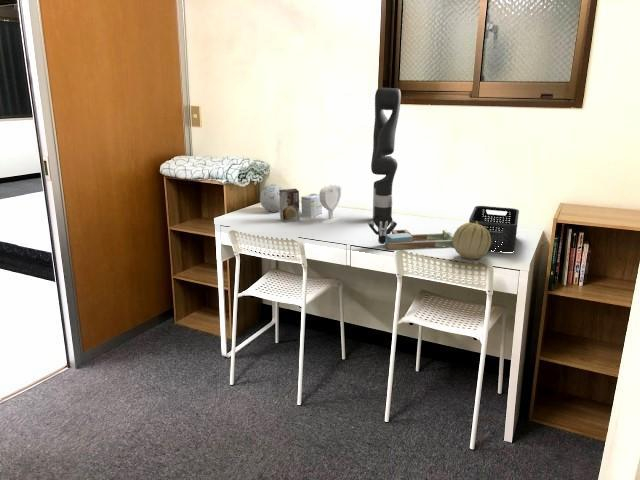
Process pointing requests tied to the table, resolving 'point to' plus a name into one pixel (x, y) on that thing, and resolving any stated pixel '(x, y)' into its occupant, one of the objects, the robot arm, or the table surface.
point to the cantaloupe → (471, 240)
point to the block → (398, 238)
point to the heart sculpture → (330, 200)
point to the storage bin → (498, 226)
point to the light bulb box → (311, 205)
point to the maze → (422, 244)
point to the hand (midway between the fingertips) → (381, 243)
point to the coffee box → (289, 205)
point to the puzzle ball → (271, 198)
